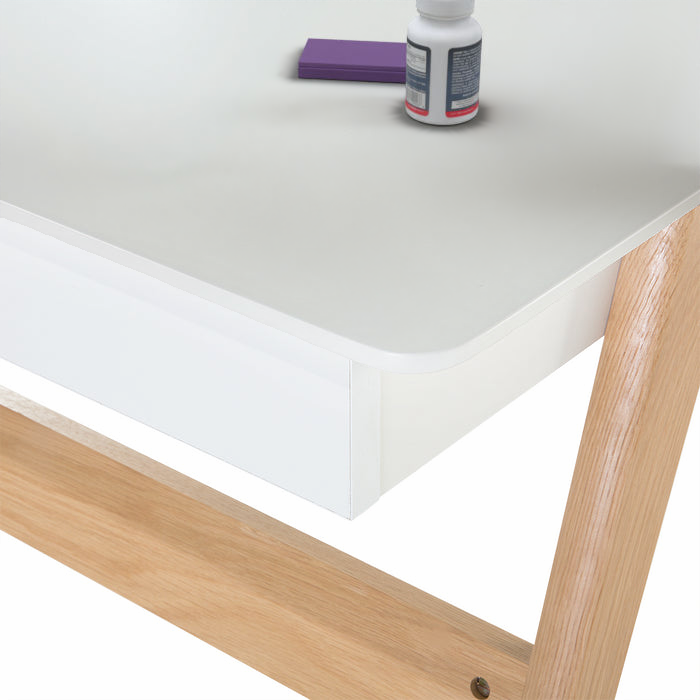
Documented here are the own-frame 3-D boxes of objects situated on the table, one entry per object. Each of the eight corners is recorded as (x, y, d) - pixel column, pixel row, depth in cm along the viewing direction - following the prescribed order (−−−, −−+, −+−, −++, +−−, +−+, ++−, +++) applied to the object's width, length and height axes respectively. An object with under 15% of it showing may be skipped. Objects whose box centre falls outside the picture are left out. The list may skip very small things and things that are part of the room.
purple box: (458, 56, 98) (459, 42, 97) (454, 85, 93) (455, 70, 93) (309, 49, 99) (309, 35, 99) (298, 77, 94) (297, 62, 94)
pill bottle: (481, 100, 91) (489, -20, 86) (473, 129, 87) (481, 5, 82) (410, 95, 92) (414, -24, 87) (399, 123, 87) (402, 0, 82)
